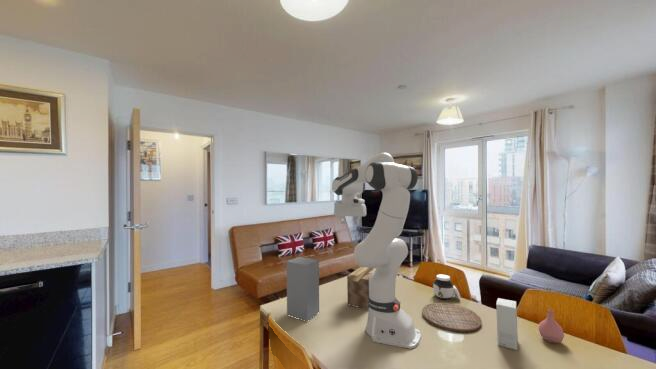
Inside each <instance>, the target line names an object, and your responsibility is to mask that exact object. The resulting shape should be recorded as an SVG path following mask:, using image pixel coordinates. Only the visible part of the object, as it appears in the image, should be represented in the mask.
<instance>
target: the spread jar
mask: <svg viewBox="0 0 656 369" xmlns="http://www.w3.org/2000/svg"><path fill="white" fill-rule="evenodd" d="M432 288H433V290H432V291H433V294H434V295H435V297H436V298H437V299H439V300H441V301H442V300H443V301H449V300H451V299H452V298H453V297H455V299H456V300H458V299H460V298H461V294H460V292H459V290H458V288H457V286H455V285H454V284H453V282H452V281H451V276H450V275H446V274H441V273H439V274H437V275H436V278H435V279H434V281H433V285H432Z"/></svg>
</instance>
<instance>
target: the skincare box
mask: <svg viewBox="0 0 656 369" xmlns="http://www.w3.org/2000/svg"><path fill="white" fill-rule="evenodd" d="M495 305H496V330H497V332H496V334H497V345H498V346H500V347H504V348H508V349H511V350H514V351H518V343H519V342H518V340H519V338H518V312H517V310H518V309H517V301H516V300H510V299H505V298H500V297H498V298H497V300H496V304H495Z"/></svg>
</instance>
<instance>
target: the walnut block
mask: <svg viewBox="0 0 656 369" xmlns="http://www.w3.org/2000/svg"><path fill="white" fill-rule="evenodd" d="M373 273H374V272H373ZM373 273H372V272H369V273H368V274H367V275H365V276H364V277H363V278H361V279H360V280H359V281H357V282H355V281H350V274H351V273H349V274H348V275H347V278H346V279H347V282H346V283H347V286H346V287H347V288H346V290H347V291H346V292H347V305H348V304H350V305H349V306H351V305H354V306H353V307H355V306H358V307H357V308H359V307H361V308H360V309H363V308H365V309H364V310H367V309H368V296H369V278H370V276H371V275H372V274H373ZM368 311H369V309H368Z"/></svg>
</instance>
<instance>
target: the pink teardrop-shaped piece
mask: <svg viewBox="0 0 656 369" xmlns="http://www.w3.org/2000/svg"><path fill="white" fill-rule="evenodd" d="M538 331H539V334H540V335H539V336H541V337H542V338H543V339H545V340H547V341H548V342H549V343H561V342H563V340H564V337H565V333H564V329H563V327H562V326H561V325H559V323H558V322H557V321H556V319H555V317H554V310H553V309H550V308H548V309H547V316H546V318H545V319H543V320H542V321H540V322H539V324H538Z"/></svg>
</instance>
